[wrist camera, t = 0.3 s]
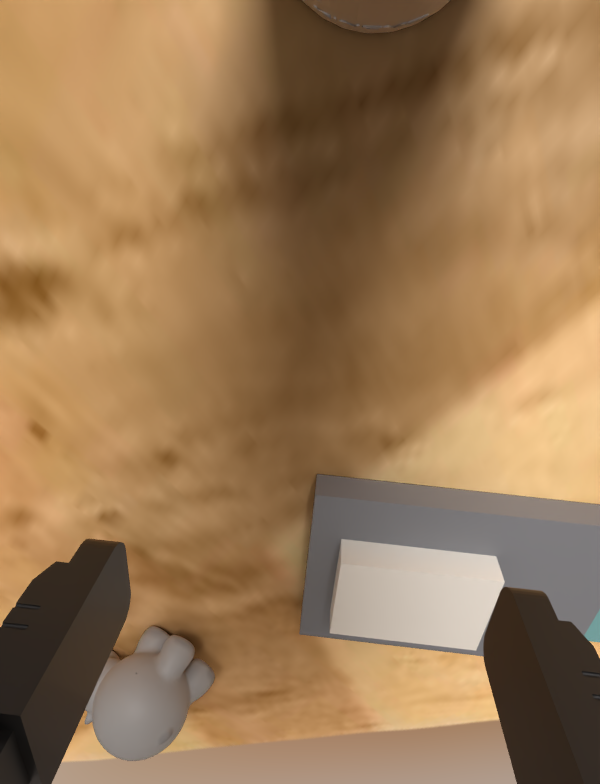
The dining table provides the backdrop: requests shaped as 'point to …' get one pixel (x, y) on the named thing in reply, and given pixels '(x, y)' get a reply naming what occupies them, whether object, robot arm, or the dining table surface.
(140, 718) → the chubby cartoon animal
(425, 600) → the cream tile
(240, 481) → the dining table surface
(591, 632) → the teal mat
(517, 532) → the plate
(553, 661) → the robot arm
